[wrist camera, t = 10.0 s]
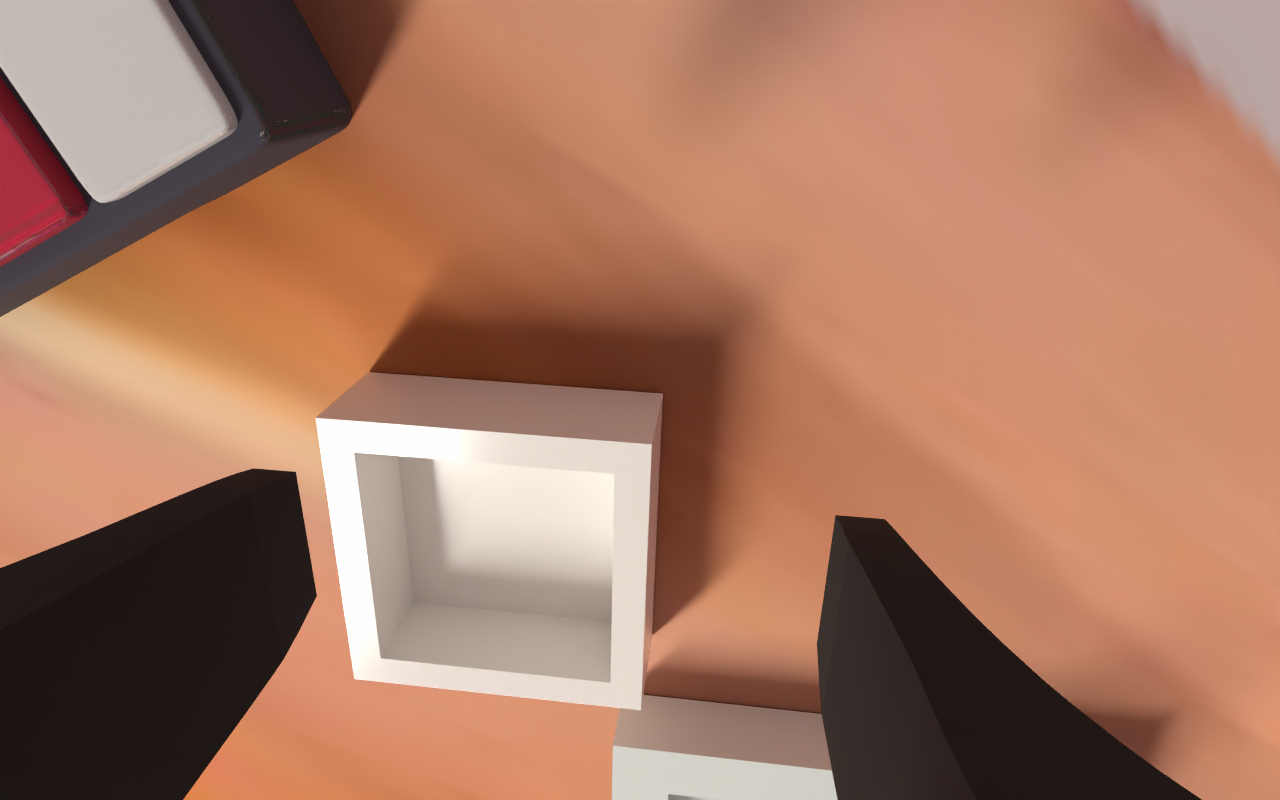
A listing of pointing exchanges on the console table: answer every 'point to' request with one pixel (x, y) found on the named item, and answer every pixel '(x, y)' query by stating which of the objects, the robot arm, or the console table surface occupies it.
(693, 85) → the console table surface
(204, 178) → the calculator
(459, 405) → the white square open box
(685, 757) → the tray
